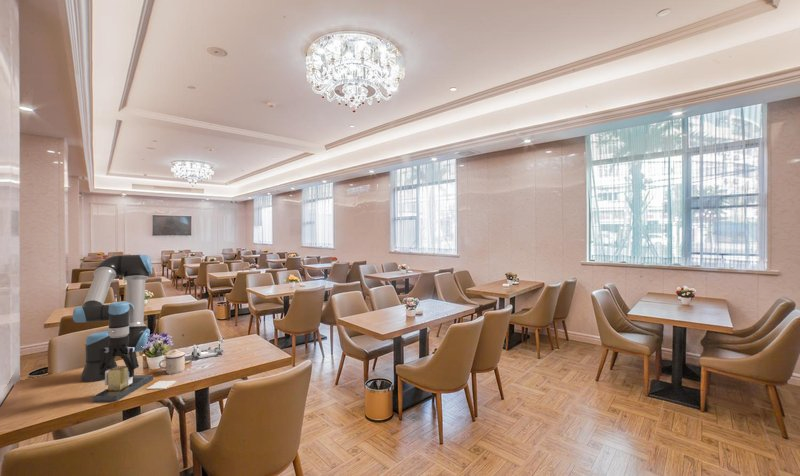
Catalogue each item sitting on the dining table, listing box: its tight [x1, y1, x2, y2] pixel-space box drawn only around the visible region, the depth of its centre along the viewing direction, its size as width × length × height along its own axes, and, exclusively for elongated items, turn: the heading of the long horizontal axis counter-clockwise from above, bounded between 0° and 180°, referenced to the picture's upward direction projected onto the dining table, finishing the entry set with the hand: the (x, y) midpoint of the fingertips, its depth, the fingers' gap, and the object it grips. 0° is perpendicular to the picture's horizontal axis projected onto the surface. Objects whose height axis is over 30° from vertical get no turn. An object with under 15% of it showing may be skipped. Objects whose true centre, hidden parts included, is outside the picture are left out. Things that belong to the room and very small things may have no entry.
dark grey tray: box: [92, 374, 154, 403], centre depth 168 cm, size 10×24×3 cm, turn 2°
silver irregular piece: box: [191, 337, 225, 361], centre depth 218 cm, size 18×10×12 cm
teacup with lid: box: [158, 348, 186, 375], centre depth 191 cm, size 12×9×12 cm
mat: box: [146, 380, 177, 390], centre depth 173 cm, size 9×9×1 cm
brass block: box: [107, 365, 129, 392], centre depth 164 cm, size 6×6×12 cm
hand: (118, 384), depth 164 cm, fingers open, 9 cm apart
